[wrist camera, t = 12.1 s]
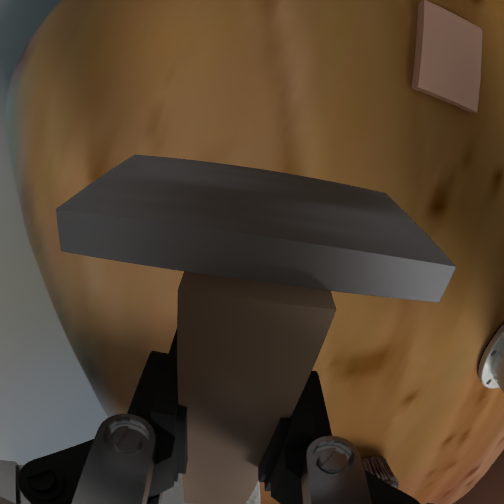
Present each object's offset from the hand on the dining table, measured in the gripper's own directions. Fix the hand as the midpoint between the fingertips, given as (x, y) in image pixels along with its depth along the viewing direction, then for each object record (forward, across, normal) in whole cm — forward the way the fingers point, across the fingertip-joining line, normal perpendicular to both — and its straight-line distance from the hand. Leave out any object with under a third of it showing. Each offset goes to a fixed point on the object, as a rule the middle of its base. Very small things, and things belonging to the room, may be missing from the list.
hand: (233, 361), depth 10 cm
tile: (+15, -14, -13) cm, 24 cm away
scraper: (+1, 0, 0) cm, 1 cm away
